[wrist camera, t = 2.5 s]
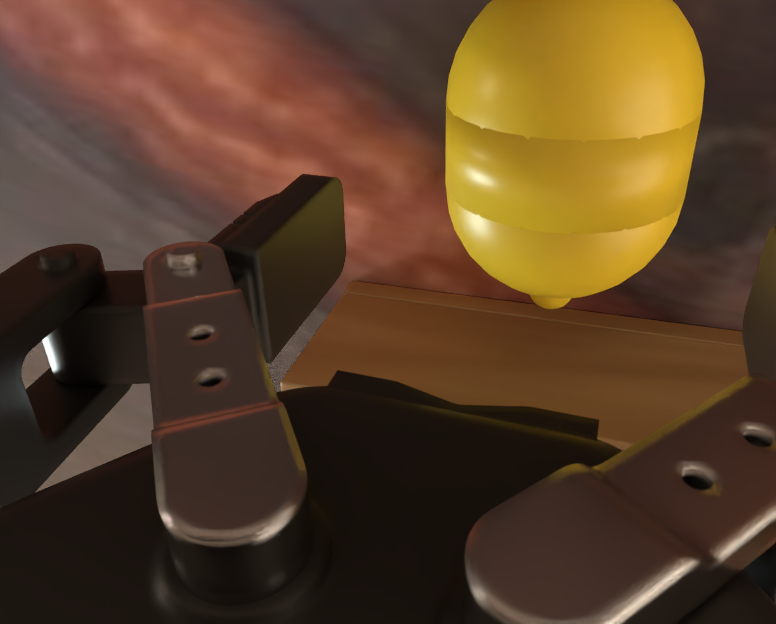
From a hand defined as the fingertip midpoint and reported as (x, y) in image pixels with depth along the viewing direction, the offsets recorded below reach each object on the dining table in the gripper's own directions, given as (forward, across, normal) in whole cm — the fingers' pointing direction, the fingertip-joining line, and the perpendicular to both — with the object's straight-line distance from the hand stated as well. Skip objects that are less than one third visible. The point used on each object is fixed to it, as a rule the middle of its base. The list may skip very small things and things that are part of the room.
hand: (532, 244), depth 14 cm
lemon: (+7, 0, -1) cm, 7 cm away
